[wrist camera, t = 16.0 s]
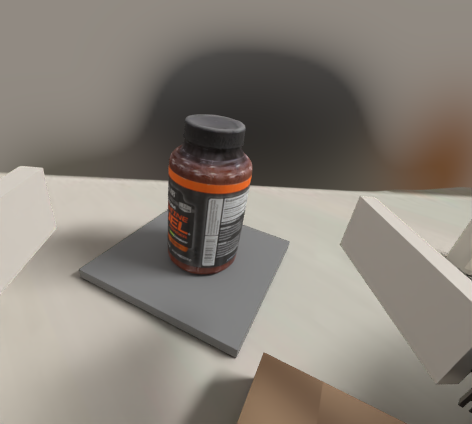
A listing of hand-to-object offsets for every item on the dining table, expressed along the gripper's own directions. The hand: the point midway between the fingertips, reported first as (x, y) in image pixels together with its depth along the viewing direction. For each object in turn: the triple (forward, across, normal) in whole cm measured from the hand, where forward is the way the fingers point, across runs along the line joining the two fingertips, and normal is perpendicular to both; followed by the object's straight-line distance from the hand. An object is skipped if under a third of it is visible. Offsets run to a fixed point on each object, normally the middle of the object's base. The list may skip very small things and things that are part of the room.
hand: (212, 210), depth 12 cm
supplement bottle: (+8, 0, -9) cm, 12 cm away
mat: (+8, 0, -10) cm, 13 cm away
